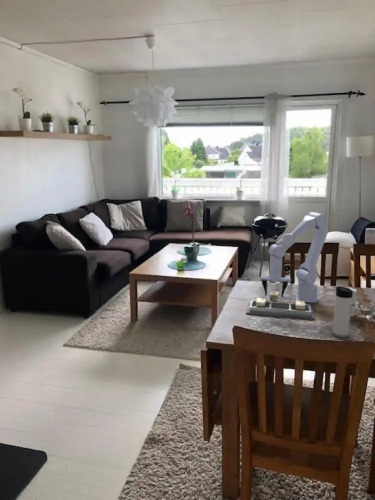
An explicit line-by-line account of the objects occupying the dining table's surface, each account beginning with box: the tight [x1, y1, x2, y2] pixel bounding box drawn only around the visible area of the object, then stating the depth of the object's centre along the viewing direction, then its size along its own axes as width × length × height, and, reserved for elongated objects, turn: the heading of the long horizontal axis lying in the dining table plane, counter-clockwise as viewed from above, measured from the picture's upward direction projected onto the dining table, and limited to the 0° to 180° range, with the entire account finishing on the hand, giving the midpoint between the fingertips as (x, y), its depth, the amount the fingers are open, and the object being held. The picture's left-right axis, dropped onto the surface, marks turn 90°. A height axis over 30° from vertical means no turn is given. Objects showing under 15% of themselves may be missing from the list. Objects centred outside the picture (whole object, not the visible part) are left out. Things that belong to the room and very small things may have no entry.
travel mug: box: [331, 286, 353, 339], centre depth 165 cm, size 6×7×20 cm
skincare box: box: [348, 287, 358, 317], centre depth 187 cm, size 6×4×12 cm
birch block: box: [269, 290, 279, 302], centre depth 203 cm, size 4×6×5 cm, turn 167°
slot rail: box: [245, 297, 316, 321], centre depth 191 cm, size 30×13×5 cm, turn 77°
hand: (274, 295), depth 203 cm, fingers open, 7 cm apart
